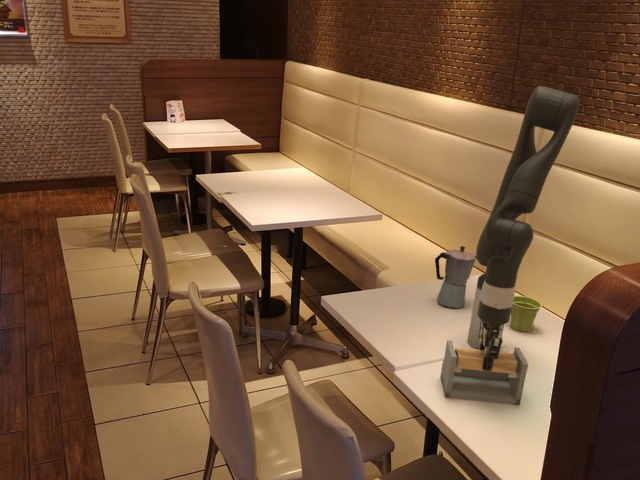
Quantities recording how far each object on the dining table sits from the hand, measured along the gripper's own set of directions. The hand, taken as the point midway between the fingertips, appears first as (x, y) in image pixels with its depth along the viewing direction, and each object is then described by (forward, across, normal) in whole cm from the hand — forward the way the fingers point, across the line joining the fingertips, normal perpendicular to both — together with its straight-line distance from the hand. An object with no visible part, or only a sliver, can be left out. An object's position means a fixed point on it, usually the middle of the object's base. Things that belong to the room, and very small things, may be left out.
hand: (484, 364), depth 155 cm
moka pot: (+8, -54, 0) cm, 55 cm away
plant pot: (+8, -41, +20) cm, 46 cm away
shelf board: (0, 0, 0) cm, 0 cm away
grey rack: (+8, 0, 0) cm, 8 cm away
